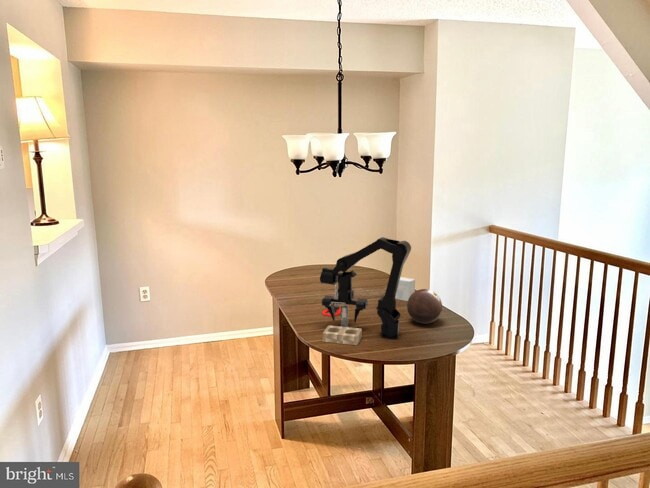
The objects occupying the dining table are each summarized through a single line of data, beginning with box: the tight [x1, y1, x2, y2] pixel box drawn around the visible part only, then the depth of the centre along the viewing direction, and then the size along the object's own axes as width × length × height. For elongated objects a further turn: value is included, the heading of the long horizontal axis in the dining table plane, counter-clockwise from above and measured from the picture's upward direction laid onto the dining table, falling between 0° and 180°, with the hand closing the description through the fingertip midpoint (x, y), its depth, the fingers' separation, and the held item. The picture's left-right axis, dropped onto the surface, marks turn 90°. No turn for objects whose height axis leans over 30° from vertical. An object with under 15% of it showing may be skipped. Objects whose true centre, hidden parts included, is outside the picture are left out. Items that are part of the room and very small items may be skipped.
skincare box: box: [395, 276, 416, 302], centre depth 245 cm, size 10×6×10 cm, turn 54°
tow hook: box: [322, 284, 341, 318], centre depth 222 cm, size 8×13×9 cm
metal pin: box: [340, 304, 349, 327], centre depth 203 cm, size 3×3×10 cm
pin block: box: [322, 324, 363, 346], centre depth 192 cm, size 14×9×4 cm, turn 74°
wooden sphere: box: [406, 288, 443, 325], centre depth 210 cm, size 15×15×15 cm
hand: (344, 321), depth 204 cm, fingers open, 9 cm apart
